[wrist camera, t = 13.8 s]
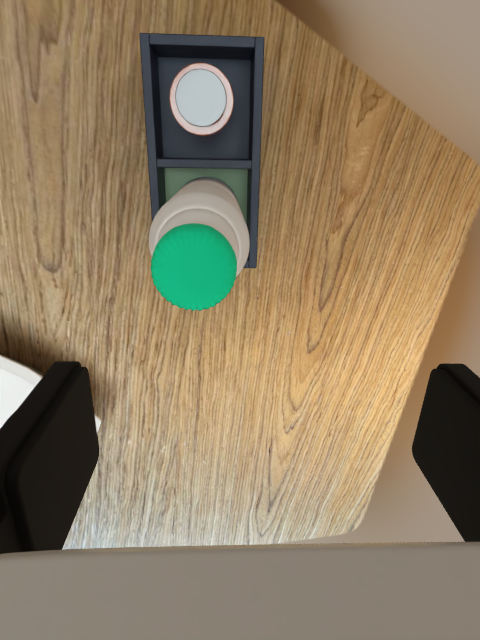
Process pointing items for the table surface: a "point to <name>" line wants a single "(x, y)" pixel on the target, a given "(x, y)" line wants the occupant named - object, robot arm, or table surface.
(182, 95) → the spice jar
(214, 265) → the water bottle
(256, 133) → the divided storage box
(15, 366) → the bowl
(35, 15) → the table surface
